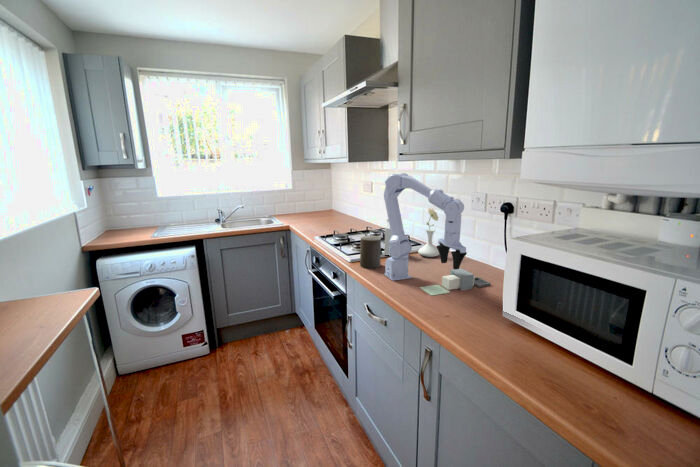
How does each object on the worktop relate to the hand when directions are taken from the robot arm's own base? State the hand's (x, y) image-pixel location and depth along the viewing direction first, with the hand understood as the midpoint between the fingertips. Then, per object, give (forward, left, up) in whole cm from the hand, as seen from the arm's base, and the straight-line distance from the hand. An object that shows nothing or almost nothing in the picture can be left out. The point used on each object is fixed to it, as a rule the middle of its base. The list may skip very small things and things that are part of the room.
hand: (449, 265), depth 124 cm
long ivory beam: (+4, 0, -9) cm, 10 cm away
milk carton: (0, +48, -10) cm, 49 cm away
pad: (-6, 0, -9) cm, 11 cm away
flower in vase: (+18, +41, -10) cm, 46 cm away
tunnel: (+6, 0, -9) cm, 11 cm away
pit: (+14, 0, -9) cm, 17 cm away
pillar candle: (-18, +36, -10) cm, 41 cm away
